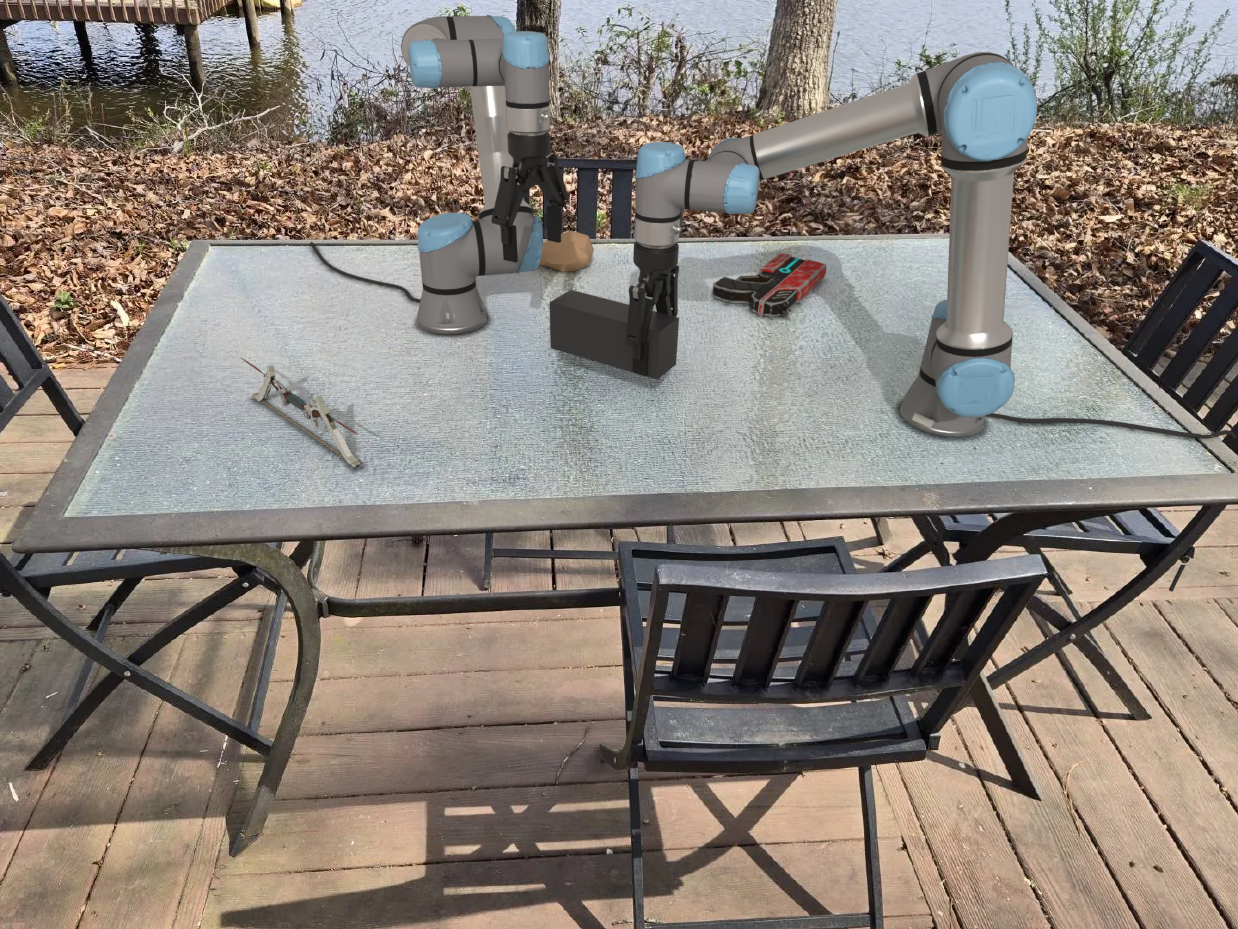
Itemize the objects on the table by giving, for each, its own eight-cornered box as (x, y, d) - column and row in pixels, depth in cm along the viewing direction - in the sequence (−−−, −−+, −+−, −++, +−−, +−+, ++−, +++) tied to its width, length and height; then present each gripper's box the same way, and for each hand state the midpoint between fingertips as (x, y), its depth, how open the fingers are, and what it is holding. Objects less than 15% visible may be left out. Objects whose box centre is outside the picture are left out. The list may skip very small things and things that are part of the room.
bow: (370, 470, 147) (362, 419, 141) (361, 474, 146) (352, 423, 140) (254, 390, 168) (243, 343, 163) (245, 394, 167) (233, 346, 162)
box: (550, 348, 164) (549, 302, 159) (571, 334, 169) (570, 289, 164) (657, 380, 154) (660, 331, 149) (676, 364, 159) (679, 317, 154)
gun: (708, 284, 207) (784, 305, 199) (760, 245, 229) (831, 262, 221) (706, 302, 209) (781, 323, 201) (758, 261, 231) (828, 278, 223)
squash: (595, 275, 222) (590, 243, 216) (517, 282, 224) (510, 251, 218) (596, 253, 230) (591, 222, 224) (521, 260, 232) (514, 229, 225)
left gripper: (501, 147, 141) (507, 273, 153) (586, 122, 160) (586, 236, 171) (465, 141, 145) (474, 265, 156) (552, 117, 163) (555, 230, 174)
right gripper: (646, 264, 137) (641, 393, 149) (703, 229, 151) (694, 349, 164) (605, 254, 140) (603, 382, 152) (665, 221, 154) (659, 339, 167)
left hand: (533, 250), depth 164 cm, fingers open, 13 cm apart
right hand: (650, 365), depth 158 cm, fingers closed on box, 7 cm apart
